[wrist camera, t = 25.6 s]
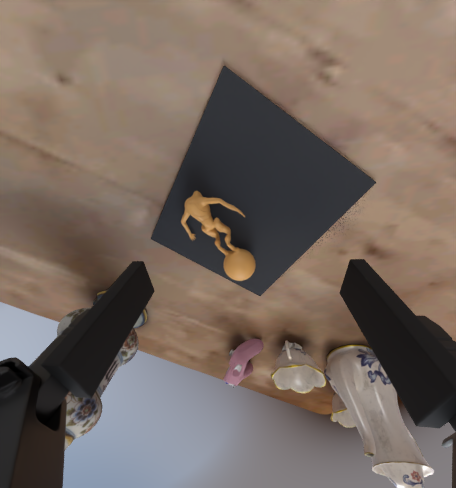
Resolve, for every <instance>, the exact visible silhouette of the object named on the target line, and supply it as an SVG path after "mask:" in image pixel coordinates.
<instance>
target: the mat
mask: <svg viewBox="0 0 456 488" xmlns="http://www.w3.org/2000/svg"><path fill="white" fill-rule="evenodd" d="M375 183H376V182H375V181H374V180H373V179H371V178H370V177H369V176H367V175H366V174H365V173H363V172H362V171H361V170H360V169H358V168H357V167H356V166H354V165H353V164H352V163H350V162H349V161H348V160H347V159H345V158H344V157H343V156H341V155H340V154H339V153H337V152H336V151H335V150H334V149H332V148H331V147H330V146H328V145H327V144H326V143H324V142H323V141H322V140H321V139H319V138H318V137H317V136H315V135H314V134H313V133H311V132H310V131H309V130H308V129H306V128H305V127H304V126H302V125H301V124H300V123H298V122H297V121H296V120H295V119H293V118H292V117H291V116H289V115H288V114H287V113H285V112H284V111H283V110H281V109H280V108H279V107H278V106H276V105H275V104H274V103H272V102H271V101H270V100H268V99H267V98H266V97H265V96H263V95H262V94H261V93H259V92H258V91H257V90H255V89H254V88H253V87H252V86H250V85H249V84H248V83H246V82H245V81H244V80H242V79H241V78H240V77H239V76H237V75H236V74H235V73H233V72H232V71H231V70H229V69H228V68H227V67H226V66H223V69H222V71H221V74H220V76H219V78H218V81H217V83H216V85H215V88H214V90H213V93H212V95H211V97H210V100H209V102H208V104H207V107H206V109H205V111H204V114H203V116H202V119H201V121H200V123H199V126H198V128H197V130H196V133H195V135H194V137H193V140H192V142H191V145H190V147H189V149H188V152H187V154H186V156H185V159H184V161H183V164H182V166H181V168H180V171H179V173H178V175H177V178H176V180H175V182H174V185H173V187H172V190H171V192H170V194H169V197H168V199H167V201H166V204H165V206H164V209H163V211H162V213H161V216H160V218H159V220H158V223H157V225H156V227H155V230H154V232H153V235H152V237H151V239H152V240H154V241H156V242H158V243H160V244H161V245H163V246H165V247H167V248H169V249H171V250H173V251H175V252H177V253H179V254H181V255H182V256H184V257H186V258H188V259H190V260H192V261H194V262H196V263H198V264H200V265H201V266H203V267H205V268H207V269H209V270H211V271H213V272H215V273H217V274H219V275H221V276H222V277H224V278H226V279H228V280H230V281H232V282H234V283H236V284H238V285H240V286H242V287H243V288H245V289H247V290H249V291H251V292H253V293H255V294H257V295H259V296H261V295H262V294H263V293H264V292H265V291H266V290H267V289H268V288H269V287H270V286H271V285H272V284H273V283H274V282H275V281H276V280H277V279H278V278H279V277H280V276H281V275H282V274H283V273H284V272H285V271H286V270H287V269H288V268H289V267H290V266H291V265H292V264H293V263H294V262H295V261H296V260H297V259H299V258H300V257H301V256H302V255H303V254H304V253H305V252H306V251H307V250H308V249H309V248H310V247H311V246H312V245H313V244H314V243H315V242H316V241H317V240H318V239H319V238H320V237H321V236H322V235H323V234H324V233H325V232H326V231H327V230H328V229H329V228H330V227H331V226H332V225H333V224H334V223H335V222H336V221H337V220H338V219H339V218H340V217H341V216H342V215H343V214H344V213H345V212H346V211H348V210H349V209H350V208H351V207H352V206H353V205H354V204H355V203H356V202H357V201H358V200H359V199H360V198H361V197H362V196H363V195H364V194H365V193H366V192H367V191H368V190H369V189H370V188H371V187H372V186H373V185H374V184H375ZM195 191H198V192H200V193H201V195H202V196H203V197H206V198H220V199H222V200H224V201H225V202H226V203H228V204H231V205H233V206H235V207H236V208H238V209H239V210H240V211H241V212H242V213H243V214H244V215H245V217H244V216H243V215H241V214H240V213H239V212H237V211H234V210H231V209H229V208H227V207H225V206H223V205H222V204H220V203H216V204H209V206H210V212H211V216H212V218H213V220H214V219H215V218H216V217H217V218H219V220H220V221H221V222H222V223H223V224H224V225H226V226H227V227H229V228H230V230H231V235H230V236H231V240H230V244H231V245H233V246H234V247H235V248H237V247H238V248H239V249H245V250H247V251H249V252H250V253H251V254H252V255H253V257H254V259H255V264H256V266H255V271H254V273H253V274H252V276H251V277H249V278H248V279H246V280H243V281H236V280H233V279H231V278H230V277H229V276H228V275H227V274H226V272H225V270H224V259H225V254H224V253H222V252H221V251H220V250H219V249H218V247H217V246H216V245H215V240H216V238H214V237H211V236H210V235H207V234H206V233H205V232H203V231H202V229H201V226H202V223H201V222H199V221H198V220H197V219H195V218H194V217H192V216H191V215H189V217H188V219H187V220H186V223H187V226H188V227H189V229H190V231H191V234H195V235H193V236H194V237H195V238H194V237H193V238H194V239H195V240H194V239H192V240H193V241H192V240H191V238H190V237H189V234H188V233H187V231H186V230H185V228H184V226H183V225H182V223H181V219H182V217H183V215H184V212H185V201H186V200H187V199H188V198H190V197H192V195H193V193H194V192H195ZM216 230H217V229H216ZM217 232H218V233H219V237H220V242H221V243H220V246H221V247H222V248H224V249H225V250H227V251H232V250H231V249H230V248H229V247H228V246H227V244H226V242H225V237H226V235H227V234H226V233H224V232H219V231H218V230H217Z"/></svg>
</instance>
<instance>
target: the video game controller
mask: <svg viewBox="0 0 456 488" xmlns="http://www.w3.org/2000/svg"><path fill="white" fill-rule="evenodd" d="M262 349H263V342H262V341H261V340H260V339H250V340H247V341H246V342H244V343H241V345H239V346H238V347H237V348H236V349H235V350H234V351H233V349H232V350H231V351H230V353H229V356H230V355H231V359H230V362H229V364H230V367H229V368H228V370H227V372H226V375H225V377H224V381H225V382H226V384H229V385H232V386H233V387H234V386H236V385H238V384H239V383H240V382H241V381H242V380H243V379H244V378H246V377H247V376H249V375H250V374H251V373H252V371H253V365H252V364H251V363H250V362H248V361H249V360H250V359H251V358H252V357H253V356H255V355H256V354H258V353H260V352H261V350H262Z"/></svg>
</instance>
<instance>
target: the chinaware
mask: <svg viewBox="0 0 456 488" xmlns="http://www.w3.org/2000/svg"><path fill="white" fill-rule="evenodd" d="M302 348H303V347H301V346H300V345H298V344H296V343H289V341H285V345H284V346H283V349H282V352H281V353H280V354H279V356H278V358H277V360H276V364H275V370H274V371H273V372H272V373H271V378H272V379H273V380H274V383H275V385H276V387H278V389H282V390H287V389H290V387H291V389H292V390H294V391H296V392H298V393H307V392H310V391H311V390H312V389H313V388H314V386H315V387H323V386H325V385H326V379H325V376H326V378H327V379H328V381H329V382H330V384H331V386H332V388H333V389H334V390H335V394H334V396H333V399H332V407H333V413H332V415H331V420H332V421H333V422H336V421H338V422H339V423H340V424H341V425H342V426H344V427H347V428H351V427H355V426H356V427H357V428H358V431H359V433H360V435H361V437H362V440H363V443H364V454H365V455H366V456H368V457H371V460H372V464H373V467H372V470H373V471H374V472H375V473H377V474H381V475H383V476H387V477H388V478H389V480H390V481H391V482H392V483H393V485H395V487H397V488H424V477H427V476H428V475H432V474H433V472H434V470H433V469H432V468H431V467H430V466H429V465H428V464H427V462H426V461H425V459H424V458H423V455H422V453H421V451H420V449H419V447H418V445H417V443H416V442H415V440H414V438H413V437H412V435H411V434H410V432H409V431H408V429H407V428H406V427H405V425H404V422H403V420H402V417H401V414H400V411H399V407H398V403H397V392H396V390H395V388H394V387H393V385H392V383H391V381H390V380H389V378H388V376H387V375H386V373H385V371H384V369H383V368H382V366H381V364H380V362H379V361H378V359H377V357H376V355H375V354H374V352H373V350H372V348H370V347H368V346H364V345H345V346H341V347H338V348H336V349H334V350H332V351H331V352H330V353H329V354H328V356H327V362H328V364H327V366H326V368H325V370H324V373H325V376H324V373H323V372H322V370H321V369H320V368H318V366H317V364H316V363H315V361H314V360H313V358H312V357H311V356H310V355H309V354H308V353H306V352H305V351H303V350H301V349H302Z"/></svg>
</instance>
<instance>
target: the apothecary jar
mask: <svg viewBox="0 0 456 488" xmlns="http://www.w3.org/2000/svg"><path fill="white" fill-rule="evenodd" d="M106 291H107V290H105V291H102V292H99V293H98V294H97V299H94V300H93V305H94V304H95V303H96V302H97V301H98V300H99V299H100V298H101V297H102V295H103V294H104V293H105V292H106ZM86 309H91V308H82V309H78V310H75V311H73V312H71V313H69V314H67V315H66V316H65V317H64V318H63V319H62V320H61V321H60V323H59V325H58V329H57V335H58V336H59V335H61V333H62V332H63V331H64V330H65V329H66V328H67V327H68V325H69V324H70V323H71V322H72V321H73V320H74V319H75V318H76V317H77V316H78V315H79V314H81V313H82V312H84V311H85V310H86ZM146 320H147V313H146V310H145V308H144V310H143V312H142V313H141V315H140V317H139V318H138V320H137V322H136V324H135V325H134V327H133V329H132V330H131V332H130V334H129V335H128V337H127V339H126V341H125V342H124V344H123V346H122V347H121V349H120V351H119V352H118V354H117V356H116V358H115V359H114V361H113V363H112V364H111V366H110V368H109V369H108V371H107V373H106V375H105V376H104V378H103V380H102V381H101V383H100V385H99V387H98V388H97V390H96V392H95V393H94V395H93V397H92V398H91V399H90V398H78V397H75V396H74V395H73V394H72V393H71V392H70V391H69V393H68V394H67V396H66V397H65V399H66V401H67V414H66V432H65V449H66V448H67V447H68V446H69V445H70V444H71V443H72V441H73V440H74V439H76V438H78V437H80V436H82V435H84V434H86V433H87V432H88V431H90V430H91V429H92V428H93V427H94V426H95V425H96V423H97V422H98V420H99V418H100V416H101V413H102V403H101V399H100V397H101V395H102V394H103V392H104V390H105V389H106V387H107V385H108V383H109V382H110V380H111V379H112V377H113V375H114V373H115V372H116V371H117V369H118V367H120V366H122V365H124V364H126V363H127V362H129V361H130V360H131V359H132V358H133V357H134V355H135V354H136V352H137V349H138V337H137V334H136V332H135V330H134V328H138V327H140V326H142V325H143V324H144V323H145V322H146ZM58 336H57V337H58ZM52 343H53V342H52ZM52 343H51V344H52ZM51 344H50V345H51ZM50 345H49V346H50ZM49 346H48V347H49ZM48 347H47V348H48ZM47 348H46V349H47ZM43 352H44V351H43ZM43 352H42V353H43ZM42 353H41V354H42ZM39 357H40V356H39ZM39 357H38V358H39ZM38 358H37V359H38ZM37 359H36V360H37ZM36 360H35V361H36ZM35 361H34V362H35ZM34 362H33V363H34ZM33 363H32V364H33ZM32 364H31V365H32ZM31 365H30V366H31ZM30 366H28V367H30ZM64 451H65V450H64Z"/></svg>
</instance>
